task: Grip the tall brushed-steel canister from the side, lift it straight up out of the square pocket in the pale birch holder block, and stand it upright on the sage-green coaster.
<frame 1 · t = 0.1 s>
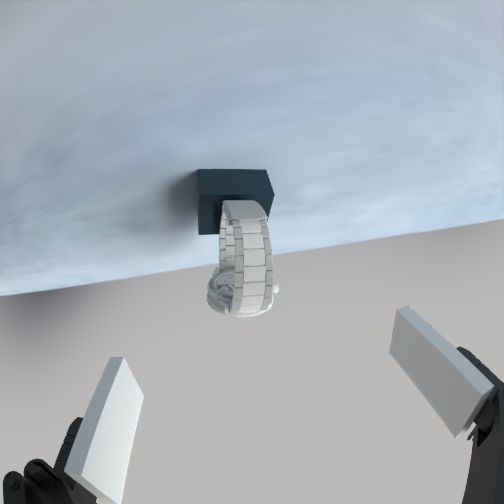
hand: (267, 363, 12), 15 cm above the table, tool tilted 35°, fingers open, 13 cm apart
watch: (230, 188, 23), on the table
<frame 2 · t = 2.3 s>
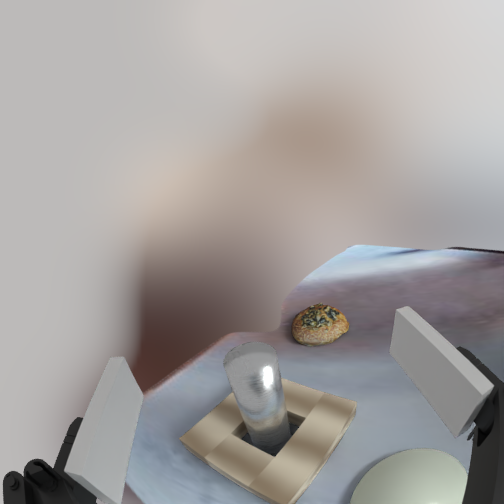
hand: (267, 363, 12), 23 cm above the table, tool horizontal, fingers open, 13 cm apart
canister: (271, 438, 29), resting in holder block
holder block: (271, 438, 29), on the table
bread roll: (320, 330, 50), on the table
coaster: (411, 500, 15), on the table
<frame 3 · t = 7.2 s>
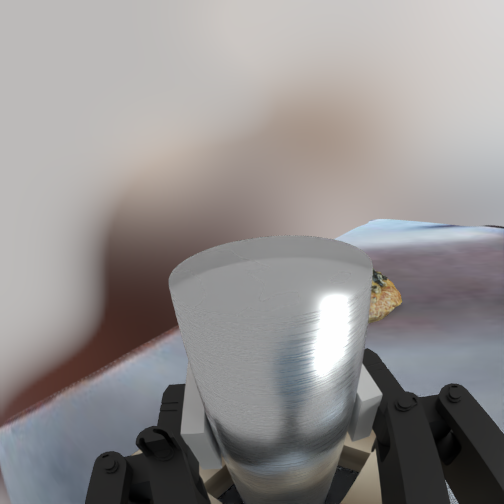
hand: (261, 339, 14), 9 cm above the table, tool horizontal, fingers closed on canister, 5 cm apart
canister: (284, 494, 11), resting in holder block, touching gripper
holder block: (289, 493, 11), on the table
bread roll: (358, 305, 32), on the table
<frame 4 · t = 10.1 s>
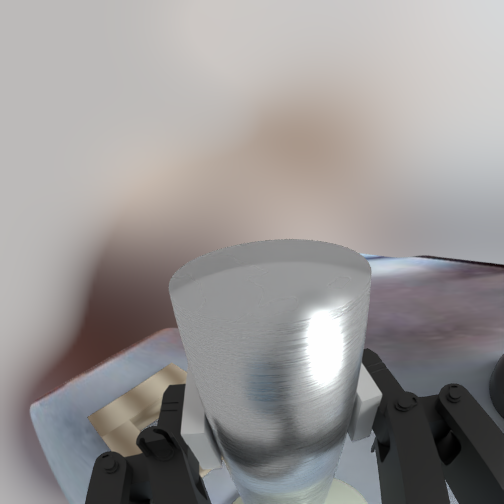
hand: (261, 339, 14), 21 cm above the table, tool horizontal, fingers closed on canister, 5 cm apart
canister: (285, 495, 11), point 12 cm above the table, touching gripper
holder block: (170, 432, 28), on the table
when the fingers open (11 cm above the table, at t = 13.2 s): canister drops 1 cm, resting on coaster.
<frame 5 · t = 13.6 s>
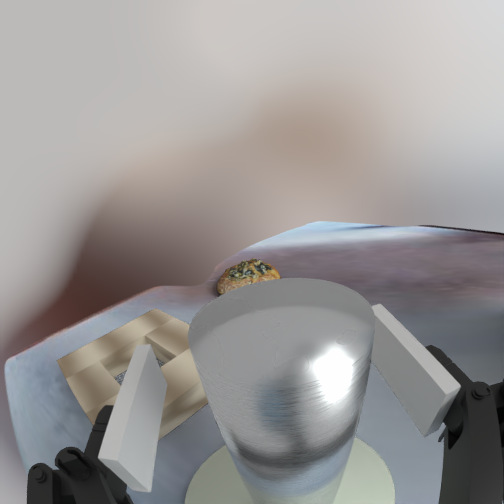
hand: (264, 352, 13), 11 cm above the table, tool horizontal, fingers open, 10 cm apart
canister: (294, 499, 12), point 1 cm above the table, touching coaster
holder block: (144, 379, 26), on the table
bread roll: (250, 288, 47), on the table
coaster: (289, 502, 12), on the table
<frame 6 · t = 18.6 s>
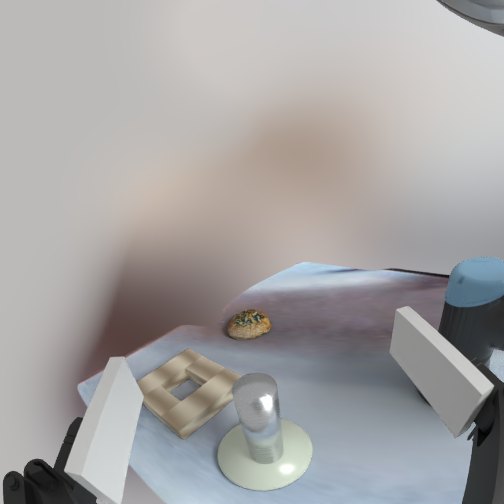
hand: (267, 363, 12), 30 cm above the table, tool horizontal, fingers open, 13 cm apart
canister: (266, 450, 32), point 1 cm above the table, touching coaster
holder block: (187, 394, 47), on the table
bread roll: (249, 329, 67), on the table
coaster: (264, 453, 33), on the table
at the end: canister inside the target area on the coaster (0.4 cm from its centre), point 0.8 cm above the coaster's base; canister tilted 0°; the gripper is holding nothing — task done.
